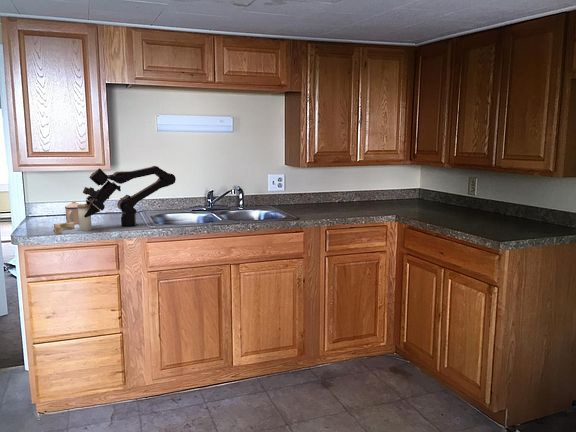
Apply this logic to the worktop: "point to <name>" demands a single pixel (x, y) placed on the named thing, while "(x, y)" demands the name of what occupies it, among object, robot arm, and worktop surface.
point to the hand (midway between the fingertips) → (83, 215)
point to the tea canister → (84, 222)
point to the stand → (63, 227)
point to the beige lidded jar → (72, 213)
